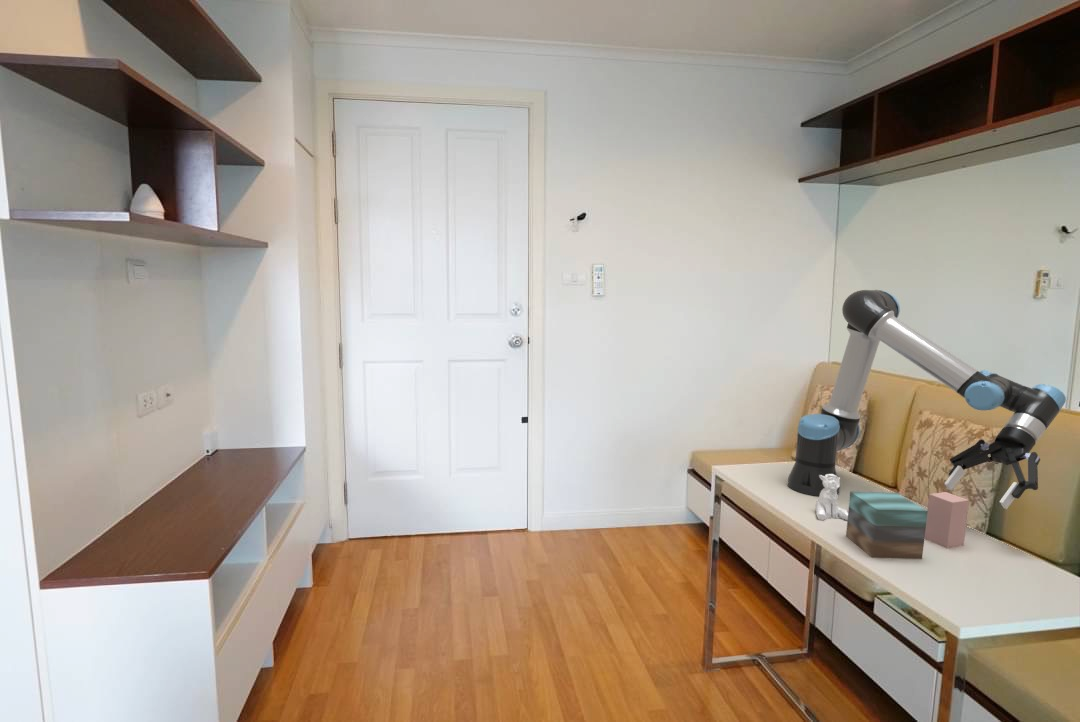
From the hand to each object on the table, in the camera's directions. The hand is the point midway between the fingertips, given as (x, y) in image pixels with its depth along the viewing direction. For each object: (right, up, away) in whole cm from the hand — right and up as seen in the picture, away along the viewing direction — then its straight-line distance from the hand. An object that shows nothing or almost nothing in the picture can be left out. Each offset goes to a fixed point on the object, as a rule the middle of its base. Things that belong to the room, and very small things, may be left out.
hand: (974, 495), depth 147 cm
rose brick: (-8, -12, 0) cm, 14 cm away
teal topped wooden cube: (-26, -12, -4) cm, 29 cm away
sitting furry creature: (-30, -9, +16) cm, 35 cm away
